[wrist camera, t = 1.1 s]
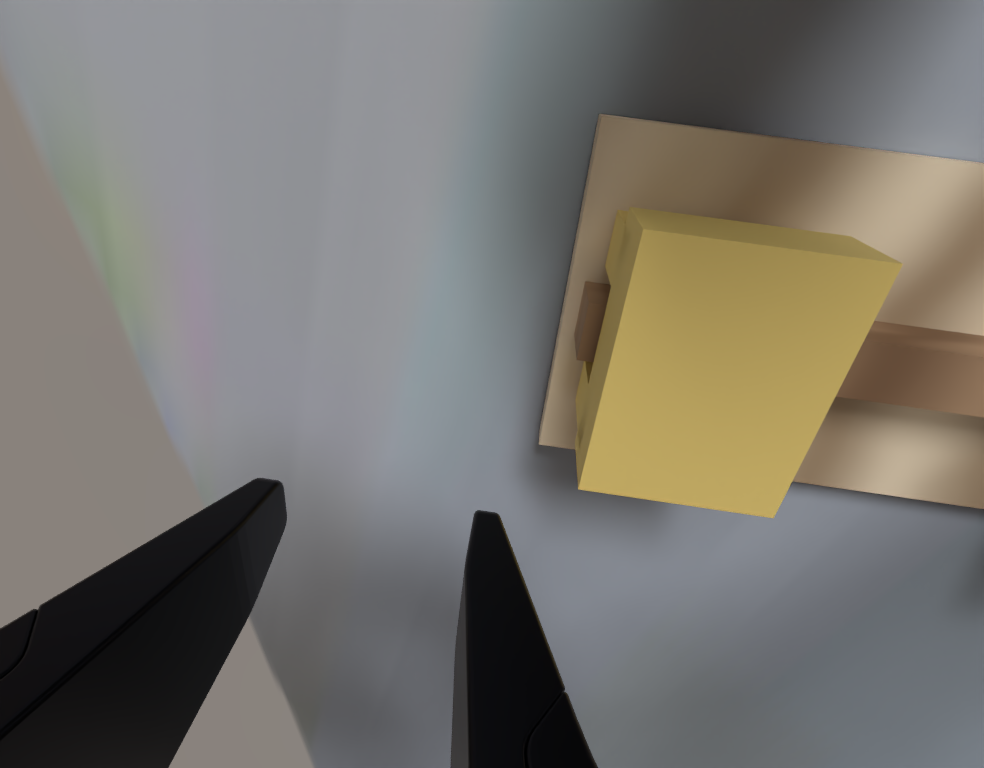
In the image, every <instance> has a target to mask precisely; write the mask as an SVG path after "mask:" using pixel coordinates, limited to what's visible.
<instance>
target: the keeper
mask: <svg viewBox="0 0 984 768" xmlns="http://www.w3.org/2000/svg"><path fill="white" fill-rule="evenodd" d="M902 265H903V264H902V263H900V262H899V261H897V260H895V259H893V258H891V257H889V256H887V255H885V254H883V253H882V252H880V251H878V250H876V249H874V248H872V247H870V246H868V245H866V244H865V243H863V242H861V241H859V240H857V239H855V238H853V237H851V236H846V235H838V234H831V233H823V232H816V231H808V230H801V229H793V228H786V227H778V226H771V225H763V224H756V223H748V222H741V221H733V220H726V219H718V218H711V217H703V216H695V215H688V214H680V213H673V212H665V211H658V210H650V209H643V208H635V207H629V211H623V210H617V214H616V219H615V223H614V228H613V232H612V237H611V241H610V246H609V250H608V255H607V259H606V264H605V267H606V271H607V274H608V278H609V281H610V285H611V289H610V293H609V297H608V302H607V306H606V310H605V315H604V319H603V323H602V328H601V332H600V336H599V340H598V345H597V349H596V353H595V358H594V362H587V361H584V363H583V367H582V372H581V376H580V381H579V385H578V390H577V394H576V399H575V402H576V415H577V428H578V431H577V435H576V439H575V450H576V464H577V479H578V489H579V490H586V491H593V492H599V493H606V494H613V495H620V496H627V497H633V498H640V499H647V500H654V501H660V502H667V503H674V504H681V505H688V506H694V507H701V508H708V509H715V510H721V511H728V512H735V513H742V514H749V515H755V516H762V517H769V518H774V516H775V514H776V512H777V510H778V508H779V506H780V504H781V503H782V501H783V499H784V497H785V495H786V493H787V491H788V489H789V487H790V485H791V483H792V481H793V479H794V477H795V475H796V473H797V471H798V469H799V467H800V465H801V463H802V461H803V459H804V457H805V455H806V454H807V452H808V450H809V448H810V446H811V444H812V442H813V440H814V438H815V436H816V434H817V432H818V430H819V428H820V426H821V424H822V422H823V420H824V418H825V416H826V414H827V412H828V410H829V408H830V407H831V405H832V403H833V401H834V399H835V397H836V395H837V393H838V391H839V389H840V387H841V385H842V383H843V381H844V379H845V377H846V375H847V373H848V371H849V369H850V367H851V365H852V363H853V361H854V359H855V358H856V356H857V354H858V352H859V350H860V348H861V346H862V344H863V342H864V340H865V338H866V336H867V334H868V332H869V330H870V328H871V326H872V324H873V322H874V320H875V318H876V316H877V314H878V312H879V310H880V309H881V307H882V305H883V303H884V301H885V299H886V297H887V295H888V293H889V291H890V289H891V287H892V285H893V283H894V281H895V279H896V277H897V275H898V273H899V271H900V269H901V267H902Z"/></svg>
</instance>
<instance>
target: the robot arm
mask: <svg viewBox="0 0 984 768" xmlns="http://www.w3.org/2000/svg"><path fill="white" fill-rule="evenodd" d="M286 521H287V512H286V503H285V494H284V487H283V484H282V483H281V482H280V481H278V480H272V479H265V478H257V479H254V480H252V481H251V482H249V483H247V484H245V485H244V486H242V487H240V488H239V489H237V490H235V491H234V492H232V493H230V494H228V495H227V496H225V497H223V498H222V499H220V500H218V501H217V502H215V503H213V504H211V505H210V506H208V507H206V508H205V509H203V510H201V511H200V512H198V513H196V514H194V515H193V516H191V517H189V518H188V519H186V520H185V521H183V522H181V523H179V524H177V525H176V526H174V527H173V528H171V529H169V530H168V531H166V532H164V533H162V534H160V535H159V536H157V537H155V538H154V539H152V540H150V541H149V542H147V543H145V544H143V545H142V546H140V547H138V548H137V549H135V550H133V551H132V552H130V553H128V554H126V555H125V556H123V557H121V558H120V559H118V560H116V561H115V562H113V563H111V564H109V565H108V566H106V567H104V568H103V569H101V570H99V571H98V572H96V573H94V574H92V575H91V576H89V577H87V578H86V579H84V580H82V581H81V582H79V583H77V584H75V585H74V586H72V587H71V588H69V589H67V590H65V591H64V592H62V593H60V594H58V595H57V596H55V597H53V598H52V599H50V600H48V601H47V602H45V603H43V604H41V605H40V607H39V609H38V610H37V609H33V610H31V611H29V612H28V613H26V614H24V615H22V616H21V617H19V618H17V619H16V620H14V621H12V622H11V623H9V624H7V625H5V626H4V627H2V628H0V768H168V767H169V765H170V763H171V762H172V760H173V758H174V756H175V754H176V752H177V750H178V749H179V747H180V745H181V743H182V741H183V739H184V737H185V735H186V733H187V732H188V730H189V728H190V726H191V724H192V722H193V720H194V718H195V717H196V715H197V713H198V711H199V709H200V707H201V705H202V703H203V701H204V700H205V698H206V696H207V694H208V692H209V690H210V689H211V687H212V685H213V683H214V681H215V679H216V677H217V675H218V674H219V672H220V670H221V668H222V666H223V664H224V662H225V660H226V658H227V656H228V655H229V653H230V651H231V649H232V647H233V645H234V644H235V642H236V640H237V638H238V636H239V634H240V632H241V630H242V628H243V626H244V625H245V623H246V621H247V619H248V617H249V615H250V613H251V611H252V608H253V606H254V604H255V601H256V599H257V597H258V594H259V592H260V589H261V587H262V584H263V582H264V579H265V577H266V574H267V572H268V569H269V567H270V564H271V562H272V559H273V557H274V554H275V552H276V549H277V547H278V544H279V542H280V539H281V537H282V535H283V532H284V529H285V526H286ZM564 691H565V686H564V684H563V681H562V678H561V676H560V673H559V671H558V668H557V665H556V663H555V660H554V657H553V655H552V652H551V650H550V647H549V644H548V642H547V639H546V636H545V634H544V631H543V628H542V626H541V623H540V621H539V618H538V615H537V613H536V610H535V607H534V605H533V602H532V599H531V597H530V594H529V592H528V589H527V586H526V584H525V581H524V578H523V576H522V573H521V570H520V568H519V565H518V563H517V560H516V557H515V555H514V552H513V549H512V547H511V544H510V542H509V539H508V536H507V534H506V531H505V528H504V526H503V523H502V520H501V518H500V516H499V514H497V513H494V512H488V511H481V510H477V511H476V512H475V513H474V517H473V523H472V528H471V534H470V539H469V544H468V550H467V555H466V562H465V570H464V578H463V586H462V595H461V603H460V611H459V619H458V628H457V636H456V646H455V664H454V690H453V717H452V743H451V768H598V767H597V764H596V762H595V760H594V758H593V756H592V754H591V751H590V749H589V746H588V744H587V742H586V739H585V737H584V734H583V732H582V729H581V727H580V725H579V722H578V720H577V717H576V715H575V712H574V709H573V707H572V704H571V701H570V699H569V696H568V694H567V693H566V692H564Z"/></svg>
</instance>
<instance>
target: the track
mask: <svg viewBox="0 0 984 768" xmlns="http://www.w3.org/2000/svg"><path fill="white" fill-rule="evenodd" d="M629 207H635V208H643V209H650V210H658V211H665V212H673V213H680V214H688V215H695V216H703V217H711V218H718V219H726V220H733V221H741V222H748V223H756V224H763V225H771V226H778V227H786V228H793V229H801V230H808V231H816V232H823V233H831V234H838V235H846V236H851V237H853V238H855V239H857V240H859V241H861V242H863V243H865V244H866V245H868V246H870V247H872V248H874V249H876V250H878V251H880V252H882V253H883V254H885V255H887V256H889V257H891V258H893V259H895V260H897V261H899V262H900V263H902V264H903V265H902V267H901V269H900V271H899V273H898V275H897V277H896V279H895V281H894V283H893V285H892V287H891V289H890V291H889V293H888V295H887V297H886V299H885V301H884V303H883V305H882V307H881V309H880V310H879V312H878V314H877V316H876V318H875V320H874V322H873V324H872V326H871V328H870V330H869V332H868V334H867V336H866V338H865V340H864V342H863V344H862V346H861V348H860V350H859V352H858V354H857V356H856V358H855V359H854V361H853V363H852V365H851V367H850V369H849V371H848V373H847V375H846V377H845V379H844V381H843V383H842V385H841V387H840V389H839V391H838V393H837V395H836V397H835V399H834V401H833V403H832V405H831V407H830V408H829V410H828V412H827V414H826V416H825V418H824V420H823V422H822V424H821V426H820V428H819V430H818V432H817V434H816V436H815V438H814V440H813V442H812V444H811V446H810V448H809V450H808V452H807V454H806V455H805V457H804V459H803V461H802V463H801V465H800V467H799V469H798V471H797V473H796V475H795V477H794V479H793V481H794V482H801V483H808V484H815V485H821V486H828V487H835V488H842V489H849V490H856V491H863V492H870V493H876V494H883V495H890V496H897V497H904V498H911V499H918V500H925V501H931V502H938V503H945V504H952V505H959V506H966V507H973V508H980V509H984V163H979V162H971V161H964V160H956V159H948V158H940V157H932V156H925V155H917V154H909V153H901V152H893V151H886V150H878V149H870V148H862V147H855V146H847V145H839V144H831V143H823V142H816V141H808V140H800V139H792V138H784V137H777V136H769V135H761V134H753V133H745V132H738V131H730V130H722V129H714V128H707V127H699V126H691V125H683V124H675V123H668V122H660V121H652V120H644V119H636V118H629V117H621V116H613V115H605V114H599V116H598V122H597V127H596V132H595V138H594V143H593V148H592V154H591V159H590V164H589V170H588V175H587V180H586V185H585V191H584V196H583V201H582V207H581V212H580V217H579V223H578V228H577V233H576V239H575V244H574V249H573V255H572V260H571V265H570V270H569V276H568V281H567V286H566V292H565V297H564V302H563V308H562V313H561V318H560V324H559V329H558V334H557V339H556V345H555V350H554V355H553V361H552V366H551V371H550V377H549V382H548V387H547V393H546V398H545V403H544V409H543V414H542V419H541V424H540V430H539V444H540V445H546V446H553V447H560V448H567V449H574V450H575V439H576V435H577V431H578V428H577V415H576V402H575V399H576V394H577V390H578V385H579V381H580V376H581V372H582V367H583V363H584V361H587V362H594V358H595V353H596V349H597V345H598V340H599V336H600V332H601V328H602V323H603V319H604V315H605V310H606V306H607V302H608V297H609V293H610V289H611V285H610V281H609V278H608V274H607V271H606V267H605V264H606V259H607V255H608V250H609V246H610V241H611V237H612V232H613V228H614V223H615V219H616V214H617V210H623V211H629Z"/></svg>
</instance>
